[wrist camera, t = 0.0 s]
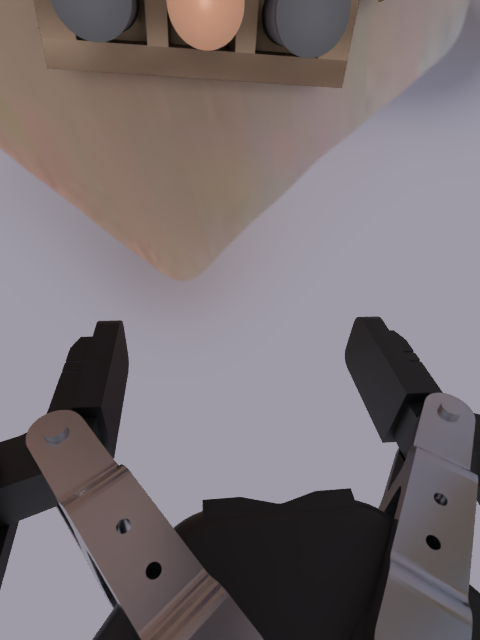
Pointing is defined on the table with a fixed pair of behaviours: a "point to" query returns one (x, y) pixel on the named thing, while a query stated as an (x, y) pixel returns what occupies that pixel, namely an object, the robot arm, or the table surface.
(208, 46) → the terracotta plug
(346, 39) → the walnut socket block
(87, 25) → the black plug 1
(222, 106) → the table surface
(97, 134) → the table surface
